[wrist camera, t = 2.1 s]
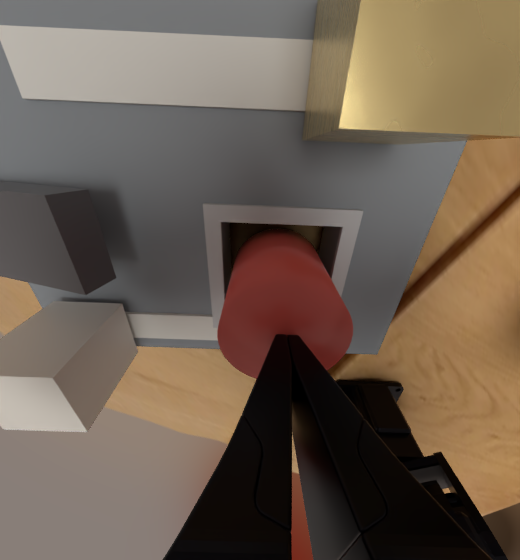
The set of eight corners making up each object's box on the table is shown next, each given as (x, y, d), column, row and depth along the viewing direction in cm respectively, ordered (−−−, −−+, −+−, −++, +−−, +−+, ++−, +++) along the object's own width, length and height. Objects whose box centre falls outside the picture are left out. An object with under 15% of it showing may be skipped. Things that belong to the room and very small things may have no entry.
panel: (360, 325, 18) (379, 357, 15) (90, 316, 18) (58, 346, 15) (460, 31, 10) (541, -18, 7) (-42, 7, 10) (-169, -54, 7)
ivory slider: (137, 351, 15) (87, 432, 11) (78, 349, 15) (3, 429, 11) (122, 303, 13) (52, 377, 9) (53, 301, 13) (-50, 374, 9)
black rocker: (116, 277, 11) (86, 295, 9) (24, 260, 12) (-14, 272, 11) (88, 189, 9) (44, 195, 7) (-18, 179, 10) (-71, 182, 9)
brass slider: (400, 144, 9) (526, 136, 5) (302, 140, 9) (338, 128, 5) (444, -3, 7) (730, -249, 3) (318, -9, 7) (408, -269, 3)
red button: (311, 305, 15) (337, 384, 10) (235, 302, 14) (220, 380, 10) (325, 230, 12) (369, 283, 7) (233, 226, 12) (212, 278, 7)
